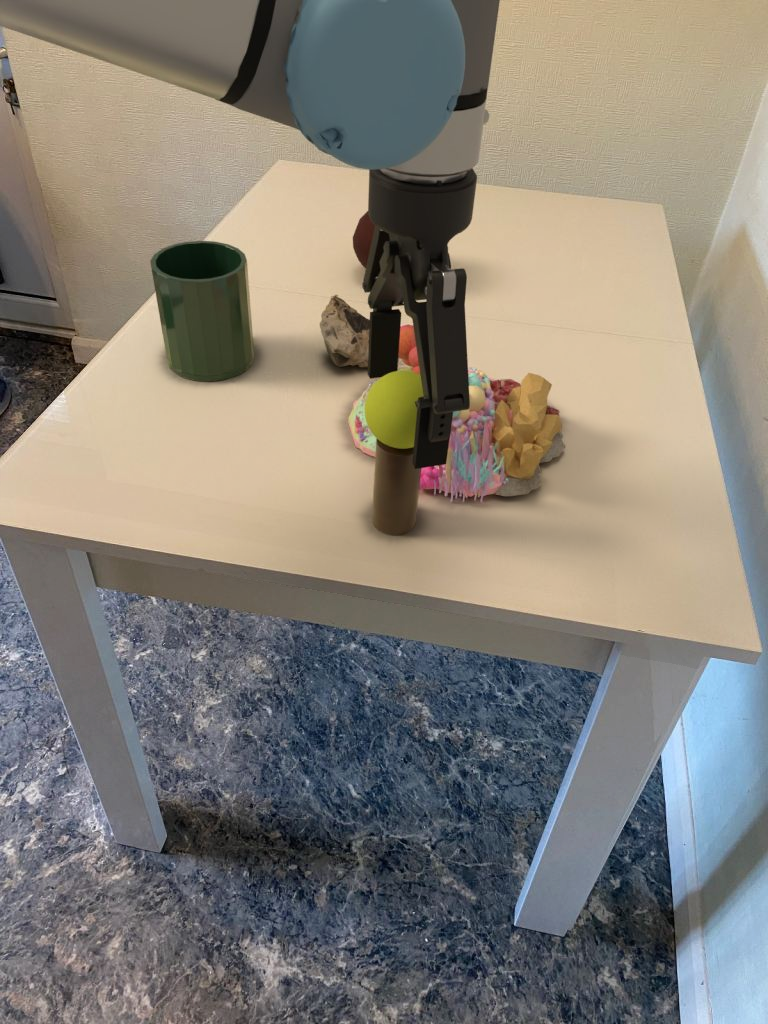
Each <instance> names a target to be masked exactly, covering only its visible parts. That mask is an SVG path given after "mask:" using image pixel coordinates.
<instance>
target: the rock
mask: <svg viewBox="0 0 768 1024" xmlns="http://www.w3.org/2000/svg"><path fill="white" fill-rule="evenodd" d="M320 315H321V320H320V322H319V328H320V333H321V336H322V339H323V343H324V346H325V349H326V352H327V355H328V358H329V359H330V361H331V362H332V363H334V364H335V366H337V367H339V368H342V367H345V366H349V365H350V366H357V365H358V367H359V368H368V354H369V325H370V318H367V317H365V316H364V315H362V314H361V313H359V312H358V311H357V310H356V309H355V308H354V307H352V306H350V305H349V304H348V303H347V302H346V301H345V300H343V298H341V297H339V295H338V294H335V295H331V296H330V299H329V301H328V304H326V305H325V309H324V310H323V311H322V312H321V314H320Z"/></svg>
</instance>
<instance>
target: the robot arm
mask: <svg viewBox="0 0 768 1024" xmlns="http://www.w3.org/2000/svg"><path fill="white" fill-rule="evenodd" d="M500 3H501V0H0V27H2V28H5V29H7V30H11V31H14V32H16V33H20V34H23V35H26V36H29V37H30V38H31V37H32V38H35V39H37V40H40V41H44V42H47V43H50V44H53V45H55V46H58V47H61V48H64V49H67V50H70V51H73V52H76V53H79V54H81V55H84V56H87V57H91V58H92V59H93V58H94V59H96V60H99V61H102V62H105V63H108V64H110V65H113V66H116V67H119V68H123V69H126V70H129V71H131V72H135V73H137V74H140V75H143V76H147V77H149V78H151V79H152V78H153V79H156V80H158V81H161V82H164V83H167V84H169V85H174V86H176V87H179V88H181V89H185V90H188V91H190V92H194V93H197V94H200V95H202V96H206V97H208V98H211V99H214V100H215V101H217V102H221V103H224V104H227V105H229V106H232V107H233V108H235V109H238V110H240V111H243V112H246V113H249V114H252V115H255V116H259V117H261V118H264V119H267V120H270V121H273V122H276V123H279V124H281V125H285V126H288V127H291V128H293V129H295V130H298V131H300V133H301V135H302V136H303V137H304V138H305V139H306V140H307V141H308V142H309V143H311V144H312V145H314V147H316V148H317V150H319V151H320V152H322V153H324V154H326V155H329V156H331V157H333V158H334V159H336V160H338V161H339V162H342V163H344V164H346V165H347V166H350V167H354V168H357V169H363V170H368V171H369V172H368V198H367V200H368V201H367V211H368V214H369V217H370V219H371V221H372V222H373V224H374V225H375V229H374V234H373V238H372V243H371V247H370V252H369V257H368V261H367V266H366V269H365V270H364V275H363V279H362V289H363V292H364V293H365V294H366V293H367V294H368V293H369V294H368V296H367V305H368V307H369V309H370V310H372V311H369V320H370V325H369V354H368V367H367V377H368V378H369V379H370V380H371V379H379V378H381V377H383V376H384V375H386V374H389V373H391V372H395V371H398V370H399V369H398V368H399V358H398V356H399V341H400V327H401V326H402V325H401V323H402V312H401V310H400V309H399V308H395V307H402V306H403V309H404V310H403V311H404V313H405V314H406V316H408V317H409V318H411V320H412V325H413V327H414V334H415V341H416V348H417V355H418V361H419V368H420V375H421V382H422V389H423V396H424V397H418V401H415V405H416V407H417V417H416V428H415V439H414V450H413V460H412V464H413V466H414V468H415V469H419V468H425V467H432V466H438V465H444V464H446V461H447V454H448V446H449V439H450V432H451V424H452V417H453V412H455V411H462V410H468V409H469V407H470V399H469V379H468V368H469V363H468V361H469V360H468V342H467V324H466V322H467V321H466V293H467V291H466V290H467V282H468V277H467V275H468V274H467V271H466V269H465V268H452V263H451V257H450V253H449V243H450V241H451V240H452V239H453V238H454V237H455V236H457V235H459V234H461V233H463V232H464V231H465V230H466V229H468V228H469V226H470V225H471V223H472V220H473V214H474V206H475V198H476V192H477V191H476V189H477V182H478V175H477V173H476V171H475V170H474V167H475V166H476V165H477V164H478V163H479V160H480V153H481V152H480V151H481V145H482V137H483V129H484V125H487V124H488V122H489V119H490V113H489V110H488V109H486V106H487V105H486V104H487V97H488V89H489V84H490V78H491V77H490V75H491V68H492V62H493V54H494V53H493V52H494V45H495V39H496V31H497V24H498V17H499V11H500V10H499V9H500ZM425 300H426V301H425ZM393 308H394V309H393Z"/></svg>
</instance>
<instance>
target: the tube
mask: <svg viewBox="0 0 768 1024" xmlns="http://www.w3.org/2000/svg"><path fill="white" fill-rule="evenodd" d="M149 262H150V269H151V274H152V280H153V286H154V292H155V297H156V303H157V309H158V315H159V321H160V326H161V333H162V338H163V343H164V349H165V355H166V361H167V365H168V367H169V369H170V370H171V371H172V372H173V373H174V374H175V375H177V376H179V377H182V378H183V379H187V380H190V381H196V382H219V381H224V380H229V379H232V378H234V377H237V376H239V375H241V374H243V373H245V372H246V371H247V370H248V369H249V368H250V367H251V366H252V364H253V363H254V359H255V347H254V334H253V333H254V331H253V322H252V320H253V319H252V308H251V295H250V285H249V284H250V283H249V281H250V280H249V269H248V268H249V267H248V259H247V256H246V254H245V252H243V251H242V250H241V249H240V248H238V247H235V246H233V245H232V244H229V243H224V242H220V241H215V240H214V241H213V240H211V241H210V240H194V241H193V240H191V241H183V242H179V243H174V244H170V245H168V246H166V247H163V248H161V249H160V250H158V251H157V252H156V253H154V254H153V255H152V257H151V259H150V261H149Z"/></svg>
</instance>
